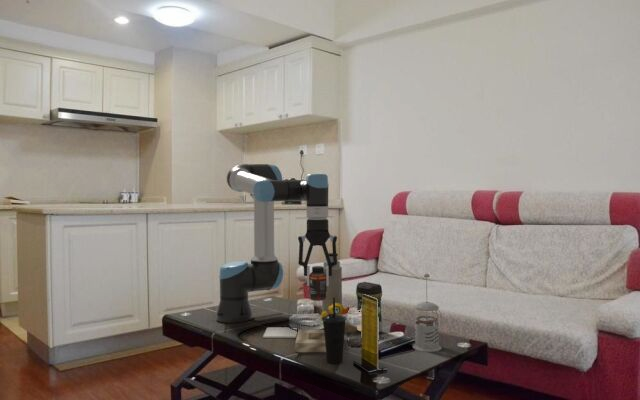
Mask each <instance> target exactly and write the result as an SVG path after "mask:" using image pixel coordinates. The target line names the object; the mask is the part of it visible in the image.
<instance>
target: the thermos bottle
mask: <svg viewBox="0 0 640 400" xmlns="http://www.w3.org/2000/svg"><path fill="white" fill-rule="evenodd" d="M328 253H329V257H330V260H331V262H333V252H328ZM336 255H337V265H334V266H332V276H329V286H327V298H326V299H325V300H322V301H321V310H322V311H321V314H322V313H323V312H324V311H326V312H327V314H328V315H329V314H331V313H330V311H329V309H328V308H329V306H331V305H333V298H335V303H340V304H341V305H343V288H342V287H343V278H342V277H343V276H342V275H343V274H342V273H343V271H342V266H341V262H340V261H339V260H338V259H339V258H338V256H339V255H338V253H337V252H336ZM322 266H323V267H324V270H323V271H324V273H326V266H328V263H327V260H326V259H325V260H323V264H322Z"/></svg>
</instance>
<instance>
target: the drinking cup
mask: <svg viewBox="0 0 640 400" xmlns="http://www.w3.org/2000/svg"><path fill="white" fill-rule="evenodd" d="M322 321H323V324H322V326H323V330H324V336H325V346H326V352H325V356H326V362H327V363H328V364H332V365H339V364H342V363H343V361H344V359H343V358H344V352H343V348H345V347H344V346H345V345H344V344H345V334H346V333H345V331H346V322H347V317H346V316H344V315H343V314H342V315H340V314H335V298H333V314H329V315H326V316H324V317H322Z"/></svg>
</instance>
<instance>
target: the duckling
mask: <svg viewBox="0 0 640 400" xmlns="http://www.w3.org/2000/svg"><path fill="white" fill-rule="evenodd" d="M328 309H329V311H330V313H331V314H333V305H331V306H329V308H328ZM348 311H349V312H350V306H347V307H346V308H344V306H343V304H342V305H341V304H340V303H335V314H340V315H342V316H343V315H347V314H348V313H349V312H348ZM326 315H328V314H327V312H326V311H324V312H323V313H322V312H321V315H320V322H321V321H322V317H324V316H326Z"/></svg>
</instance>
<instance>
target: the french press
mask: <svg viewBox="0 0 640 400" xmlns="http://www.w3.org/2000/svg"><path fill="white" fill-rule="evenodd" d="M423 277H424V278H426V282H425V283H426V293H425V294H426V297H425V298H426V301H422V302H419V303H417V304H415V306H414V308H415V309H416V310H418V311H422V312H424V311H425V312H432V314H436V317H435V316H429V315H420V316H417V317H415V318H416V320H417V321H415V323H414V324H415V325H414V330H415V331H414V333H415V335H414V338H415V339H414V341H415V342H414V343H413V344H412V346H411V347H412V348H413V349H415V350H417V351H420V352H428V353H429V352H439V351H441V350H442V348H443V347H442V346H441V345H440V344H439V343H440V340H439V335H440V334H439V330H440V328H441V326H442V321H443V320H442V319H443V317H442V313H441V311H440V310H439V309H440V306H438V305H437V304H436V303H434V302H430V301H428V278H430V274H429V273H424V274H423ZM434 311H435V312H434ZM437 311H438V312H439V315H440V324H439V322H438V321H439V315H438V312H437ZM422 324H423V325H422Z"/></svg>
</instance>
